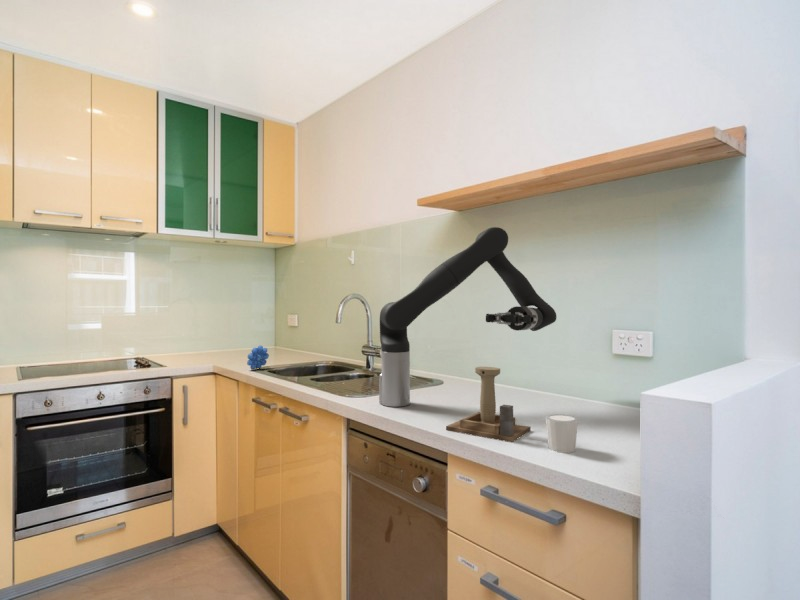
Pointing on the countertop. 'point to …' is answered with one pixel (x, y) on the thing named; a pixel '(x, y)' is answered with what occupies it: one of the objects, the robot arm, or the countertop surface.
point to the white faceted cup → (562, 432)
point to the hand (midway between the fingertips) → (500, 318)
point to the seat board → (491, 426)
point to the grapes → (257, 357)
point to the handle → (487, 393)
